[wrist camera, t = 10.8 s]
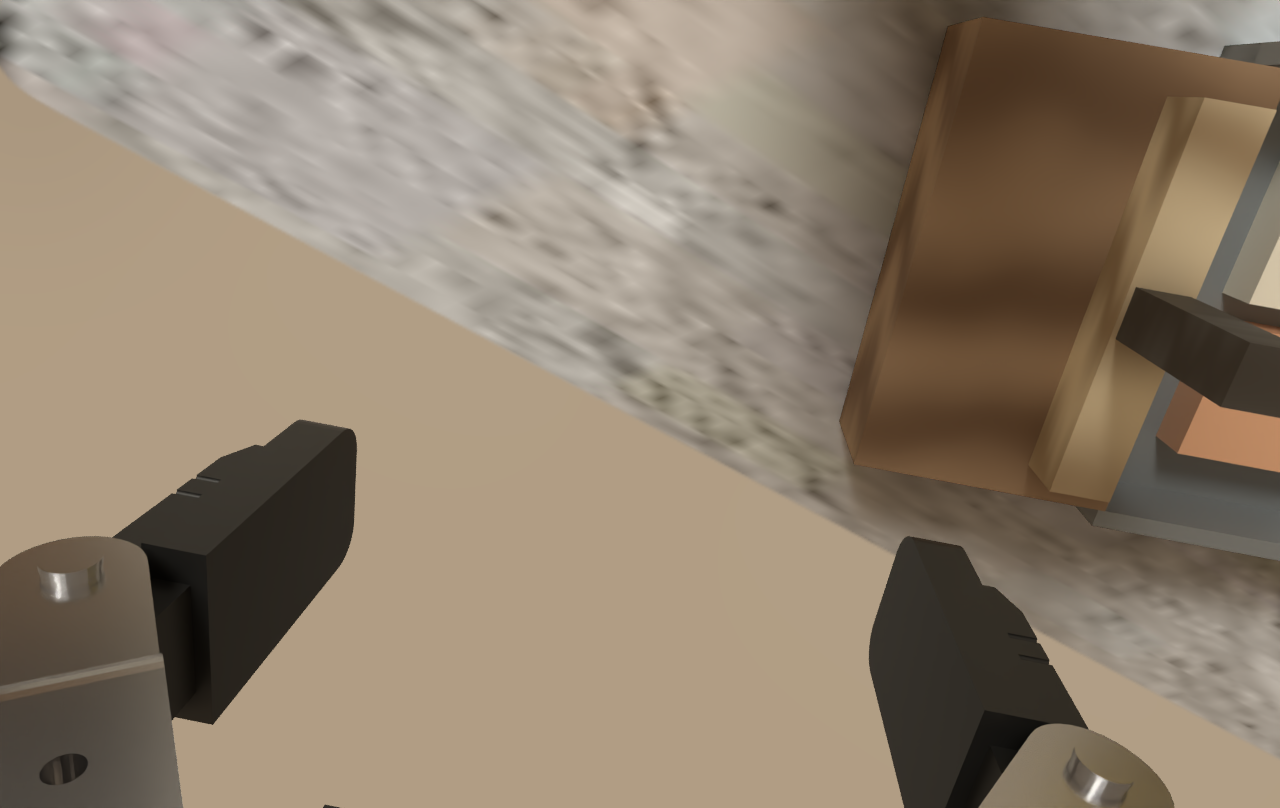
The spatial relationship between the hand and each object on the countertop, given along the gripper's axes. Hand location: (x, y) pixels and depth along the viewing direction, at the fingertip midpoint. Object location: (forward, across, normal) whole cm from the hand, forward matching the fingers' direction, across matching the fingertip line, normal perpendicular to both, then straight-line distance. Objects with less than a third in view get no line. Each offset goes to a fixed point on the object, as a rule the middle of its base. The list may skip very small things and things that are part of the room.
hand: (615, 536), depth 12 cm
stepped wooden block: (+28, -14, -1) cm, 32 cm away
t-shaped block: (+23, -17, -1) cm, 29 cm away
